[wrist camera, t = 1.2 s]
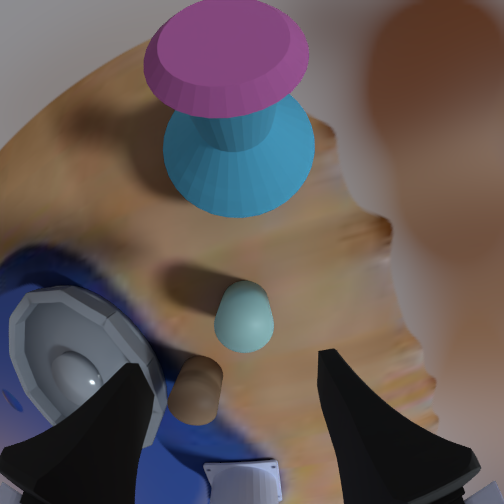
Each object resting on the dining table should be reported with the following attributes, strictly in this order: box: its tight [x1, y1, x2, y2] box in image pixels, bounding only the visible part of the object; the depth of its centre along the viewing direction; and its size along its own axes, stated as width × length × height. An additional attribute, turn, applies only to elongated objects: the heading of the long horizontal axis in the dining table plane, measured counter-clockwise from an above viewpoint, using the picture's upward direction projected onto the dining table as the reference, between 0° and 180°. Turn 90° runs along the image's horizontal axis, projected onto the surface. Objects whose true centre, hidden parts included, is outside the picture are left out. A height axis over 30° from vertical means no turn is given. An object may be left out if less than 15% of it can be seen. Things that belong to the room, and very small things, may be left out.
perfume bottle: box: [144, 0, 315, 218], centre depth 13 cm, size 9×9×15 cm
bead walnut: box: [167, 356, 223, 425], centre depth 20 cm, size 4×4×5 cm
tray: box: [9, 285, 168, 449], centre depth 21 cm, size 18×18×3 cm
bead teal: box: [214, 281, 274, 353], centre depth 19 cm, size 4×4×5 cm
